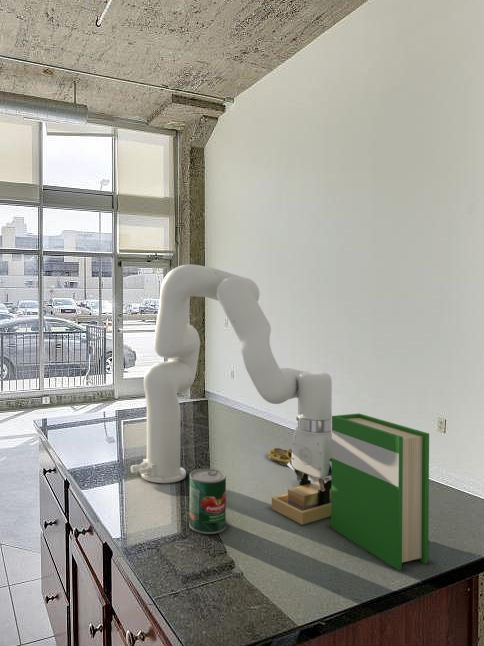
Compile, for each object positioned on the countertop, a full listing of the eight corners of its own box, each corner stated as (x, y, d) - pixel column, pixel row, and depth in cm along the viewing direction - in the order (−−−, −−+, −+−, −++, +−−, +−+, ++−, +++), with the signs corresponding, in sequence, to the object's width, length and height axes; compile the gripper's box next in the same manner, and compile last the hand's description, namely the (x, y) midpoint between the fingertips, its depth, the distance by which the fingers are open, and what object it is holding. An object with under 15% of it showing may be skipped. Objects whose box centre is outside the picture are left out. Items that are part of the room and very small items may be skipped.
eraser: (303, 512, 108) (304, 496, 108) (287, 504, 112) (287, 488, 112) (340, 501, 114) (340, 486, 114) (323, 494, 118) (323, 479, 118)
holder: (302, 524, 105) (302, 513, 105) (271, 508, 113) (271, 497, 113) (356, 508, 113) (356, 497, 113) (323, 494, 122) (324, 484, 122)
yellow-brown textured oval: (260, 456, 155) (283, 471, 141) (259, 442, 155) (282, 455, 141) (286, 451, 158) (312, 465, 143) (284, 436, 158) (310, 449, 143)
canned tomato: (216, 537, 99) (216, 484, 99) (182, 528, 103) (182, 476, 103) (231, 522, 106) (232, 472, 105) (199, 514, 110) (199, 466, 110)
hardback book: (428, 562, 90) (429, 433, 90) (397, 569, 87) (398, 437, 87) (358, 522, 106) (359, 413, 106) (331, 527, 104) (331, 415, 103)
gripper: (276, 419, 119) (276, 492, 119) (332, 435, 104) (332, 519, 104) (299, 415, 122) (298, 487, 123) (356, 430, 108) (355, 512, 108)
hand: (314, 501), depth 113 cm, fingers closed on eraser, 5 cm apart
